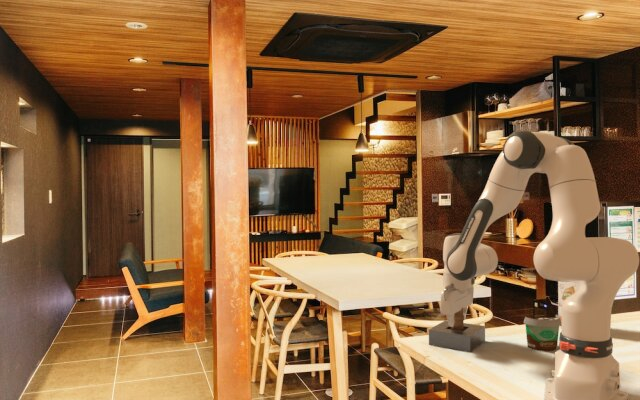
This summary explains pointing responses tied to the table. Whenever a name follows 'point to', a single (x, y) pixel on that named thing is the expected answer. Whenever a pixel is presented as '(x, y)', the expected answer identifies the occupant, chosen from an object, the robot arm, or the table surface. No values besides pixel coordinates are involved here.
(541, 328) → the food container
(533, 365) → the table surface
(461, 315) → the walnut peg
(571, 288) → the cracker box
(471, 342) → the socket block
